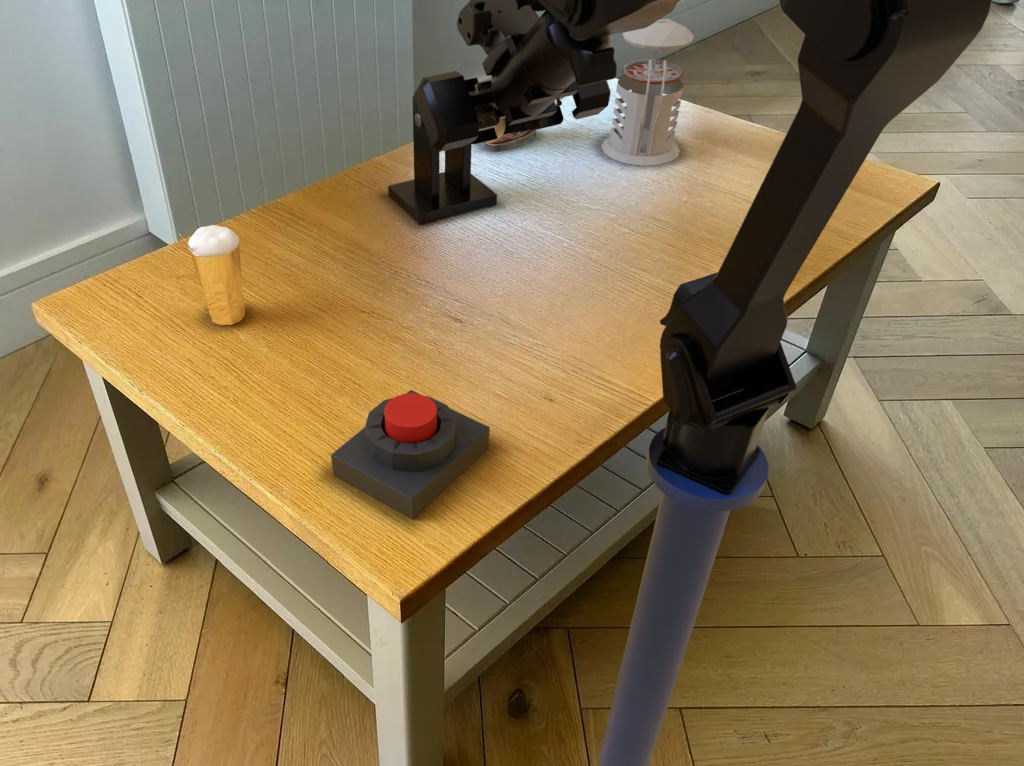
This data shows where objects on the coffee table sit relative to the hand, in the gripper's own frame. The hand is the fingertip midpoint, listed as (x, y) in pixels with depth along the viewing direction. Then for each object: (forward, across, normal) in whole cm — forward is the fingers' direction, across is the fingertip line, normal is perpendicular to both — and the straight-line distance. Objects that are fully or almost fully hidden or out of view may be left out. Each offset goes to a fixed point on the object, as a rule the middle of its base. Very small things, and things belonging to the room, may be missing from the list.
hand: (480, 133), depth 91 cm
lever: (+3, 0, -1) cm, 3 cm away
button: (-16, +23, +26) cm, 38 cm away
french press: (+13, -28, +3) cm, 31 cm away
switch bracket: (+14, 0, +2) cm, 14 cm away
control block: (-14, +23, +28) cm, 39 cm away
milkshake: (+6, +30, +10) cm, 32 cm away
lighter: (+21, -15, -5) cm, 26 cm away
